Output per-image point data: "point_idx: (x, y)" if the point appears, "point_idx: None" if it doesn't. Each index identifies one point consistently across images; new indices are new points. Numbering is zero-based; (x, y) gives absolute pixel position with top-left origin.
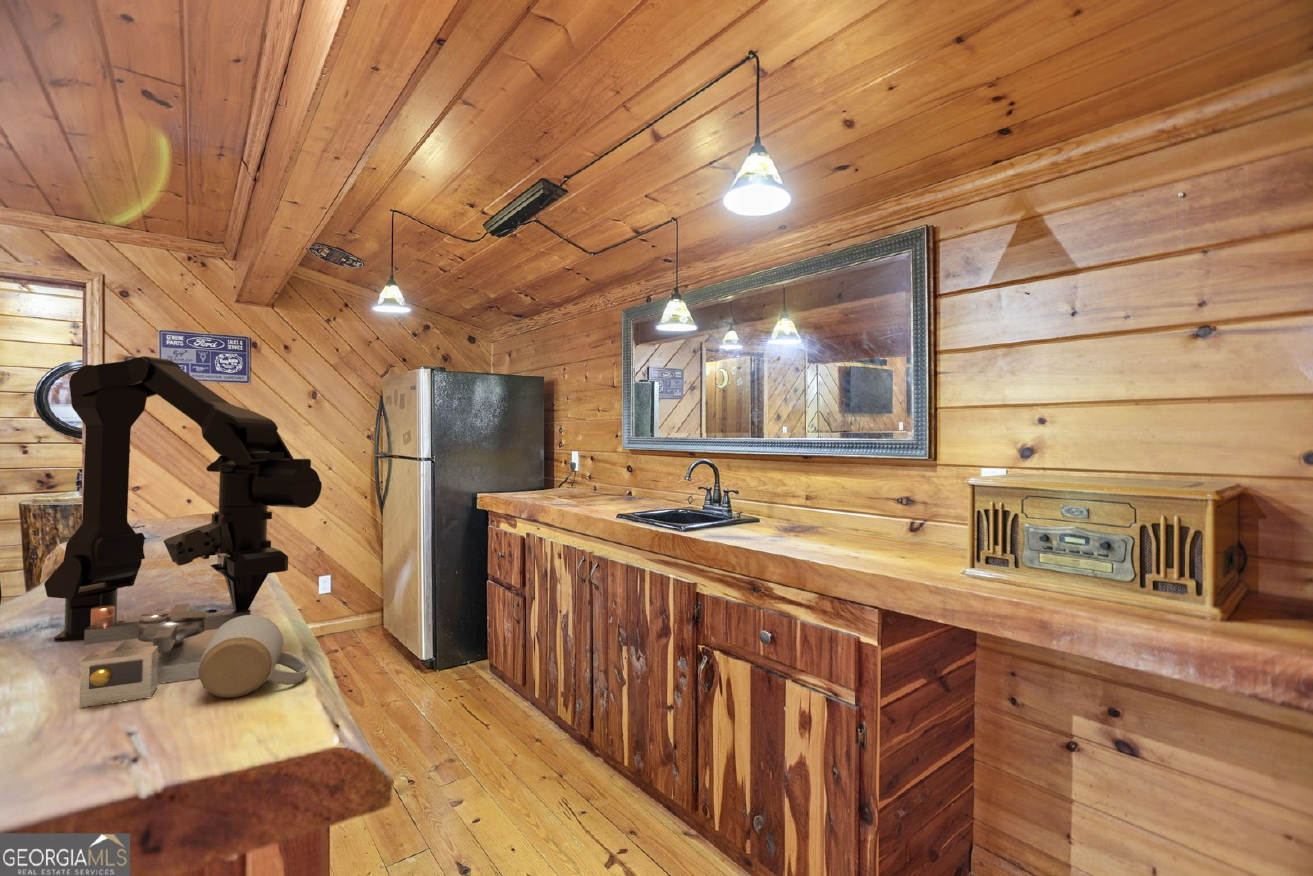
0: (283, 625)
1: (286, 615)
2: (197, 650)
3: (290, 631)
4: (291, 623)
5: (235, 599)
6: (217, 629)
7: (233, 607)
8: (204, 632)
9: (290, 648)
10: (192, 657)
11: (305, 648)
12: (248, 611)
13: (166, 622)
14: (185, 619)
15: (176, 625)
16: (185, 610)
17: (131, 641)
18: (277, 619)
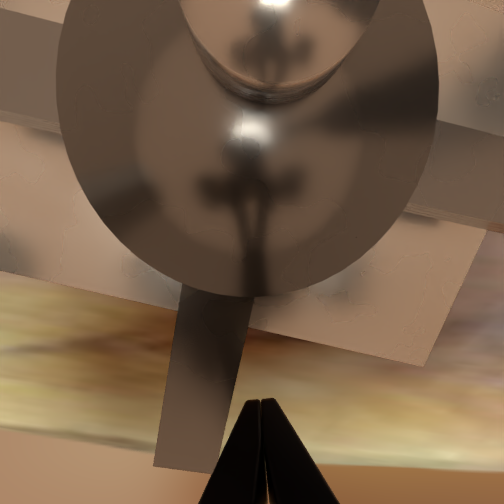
0: (392, 441)
1: (489, 462)
2: None
3: (318, 445)
4: (396, 458)
5: (199, 501)
6: (355, 306)
7: (280, 424)
8: (347, 267)
9: (158, 420)
10: (27, 197)
11: (134, 445)
12: (169, 462)
13: (156, 67)
14: (168, 182)
15: (49, 120)
16: (451, 212)
17: None
18: (467, 440)
